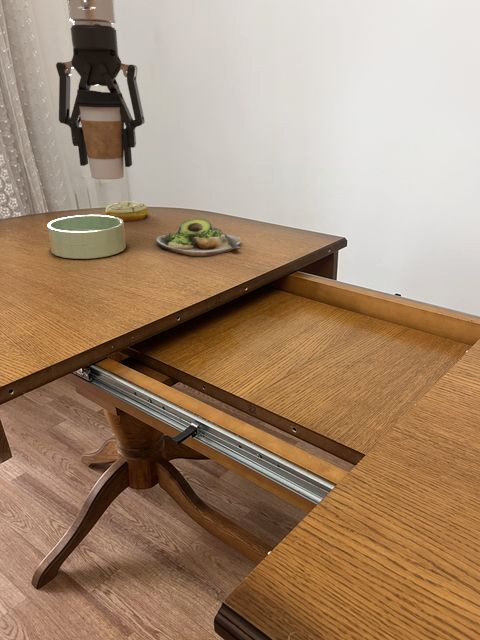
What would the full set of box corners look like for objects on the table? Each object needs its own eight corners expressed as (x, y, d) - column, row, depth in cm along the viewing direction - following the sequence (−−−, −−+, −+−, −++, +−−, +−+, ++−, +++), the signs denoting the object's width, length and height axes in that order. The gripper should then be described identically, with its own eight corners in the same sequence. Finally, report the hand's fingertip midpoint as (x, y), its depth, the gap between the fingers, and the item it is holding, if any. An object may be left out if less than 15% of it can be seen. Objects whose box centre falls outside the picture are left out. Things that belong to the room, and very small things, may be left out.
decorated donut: (118, 213, 150) (116, 199, 148) (154, 215, 148) (153, 201, 146) (99, 221, 141) (98, 206, 139) (138, 224, 139) (136, 209, 137)
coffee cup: (76, 175, 104) (66, 88, 97) (115, 172, 109) (108, 89, 102) (98, 182, 98) (89, 90, 92) (138, 178, 104) (132, 91, 97)
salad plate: (264, 248, 121) (265, 228, 119) (204, 265, 109) (203, 242, 107) (206, 232, 132) (205, 213, 130) (146, 246, 121) (144, 225, 119)
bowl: (41, 261, 109) (36, 231, 107) (64, 241, 123) (60, 214, 120) (117, 262, 110) (114, 232, 107) (131, 242, 124) (129, 215, 121)
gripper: (24, 21, 89) (45, 166, 99) (149, 25, 89) (157, 169, 100) (40, 24, 96) (58, 160, 106) (157, 28, 96) (163, 163, 106)
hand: (106, 165), depth 103 cm, fingers closed on coffee cup, 8 cm apart
